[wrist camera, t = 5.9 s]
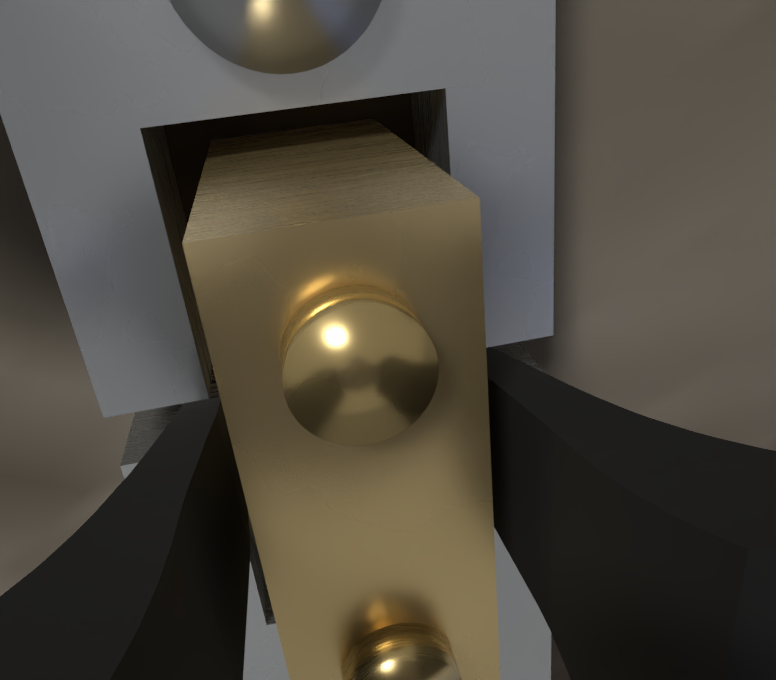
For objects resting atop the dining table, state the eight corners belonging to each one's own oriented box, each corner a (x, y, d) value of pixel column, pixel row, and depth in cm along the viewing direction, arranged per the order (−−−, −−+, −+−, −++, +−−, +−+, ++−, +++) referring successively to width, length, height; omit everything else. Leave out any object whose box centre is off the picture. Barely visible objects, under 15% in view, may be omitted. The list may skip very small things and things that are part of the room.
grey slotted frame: (514, 604, 19) (559, 700, 16) (224, 673, 18) (221, 787, 15) (493, -202, 11) (574, -274, 8) (-33, -163, 10) (-134, -232, 7)
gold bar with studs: (409, 463, 16) (514, 744, 10) (285, 489, 16) (312, 797, 10) (372, 117, 13) (499, 211, 6) (211, 140, 12) (176, 262, 6)
